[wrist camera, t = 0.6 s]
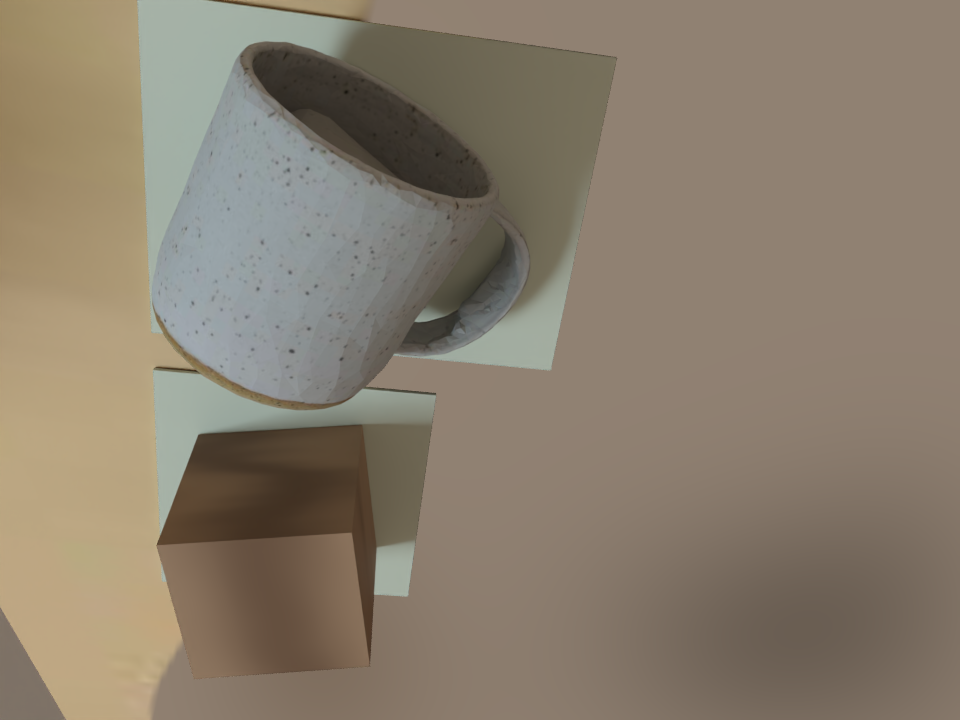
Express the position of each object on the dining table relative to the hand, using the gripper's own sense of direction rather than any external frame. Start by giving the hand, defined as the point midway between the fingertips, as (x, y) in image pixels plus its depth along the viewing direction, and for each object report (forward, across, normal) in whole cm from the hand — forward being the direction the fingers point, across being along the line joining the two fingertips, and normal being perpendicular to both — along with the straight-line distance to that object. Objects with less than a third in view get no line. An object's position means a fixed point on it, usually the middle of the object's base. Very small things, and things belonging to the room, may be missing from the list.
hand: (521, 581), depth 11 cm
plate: (+19, -8, -12) cm, 24 cm away
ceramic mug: (+19, -3, -1) cm, 19 cm away
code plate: (+19, -3, -1) cm, 19 cm away
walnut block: (+19, -8, -12) cm, 24 cm away
